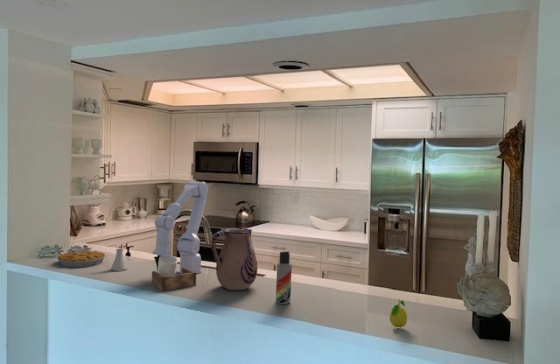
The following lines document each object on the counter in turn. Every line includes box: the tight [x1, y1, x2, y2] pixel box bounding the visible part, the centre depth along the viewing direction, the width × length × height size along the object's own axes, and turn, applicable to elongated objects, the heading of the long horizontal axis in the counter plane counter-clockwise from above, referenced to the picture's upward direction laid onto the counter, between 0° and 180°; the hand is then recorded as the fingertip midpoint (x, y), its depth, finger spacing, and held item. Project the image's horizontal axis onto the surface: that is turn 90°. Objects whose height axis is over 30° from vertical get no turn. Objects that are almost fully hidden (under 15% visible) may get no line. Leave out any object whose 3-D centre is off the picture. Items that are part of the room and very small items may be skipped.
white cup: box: [156, 254, 178, 276], centre depth 190 cm, size 8×8×10 cm
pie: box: [57, 250, 106, 268], centre depth 219 cm, size 22×22×5 cm
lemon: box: [389, 298, 408, 328], centre depth 143 cm, size 7×6×10 cm
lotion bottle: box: [275, 251, 293, 305], centre depth 166 cm, size 6×6×20 cm
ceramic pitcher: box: [210, 227, 258, 291], centre depth 183 cm, size 18×21×25 cm
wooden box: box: [151, 267, 197, 291], centre depth 185 cm, size 15×12×6 cm
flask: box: [110, 248, 128, 272], centre depth 208 cm, size 7×7×10 cm
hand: (160, 272), depth 193 cm, fingers closed, pressing on white cup
